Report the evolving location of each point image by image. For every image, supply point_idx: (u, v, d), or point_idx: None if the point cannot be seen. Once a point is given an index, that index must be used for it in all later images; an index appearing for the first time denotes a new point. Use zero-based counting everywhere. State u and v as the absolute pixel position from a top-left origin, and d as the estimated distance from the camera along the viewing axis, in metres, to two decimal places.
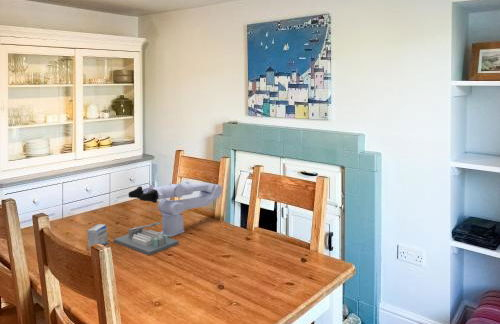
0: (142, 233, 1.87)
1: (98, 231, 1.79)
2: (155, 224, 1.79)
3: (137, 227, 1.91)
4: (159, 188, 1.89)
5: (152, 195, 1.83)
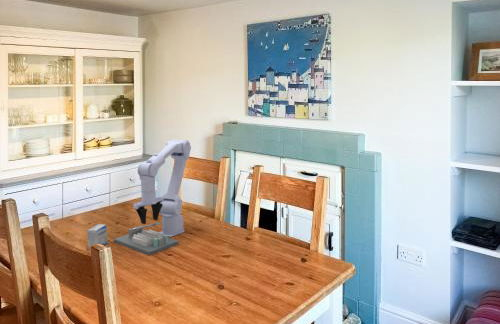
0: (142, 233, 1.87)
1: (98, 231, 1.79)
2: (155, 224, 1.79)
3: (137, 227, 1.91)
4: None
5: None
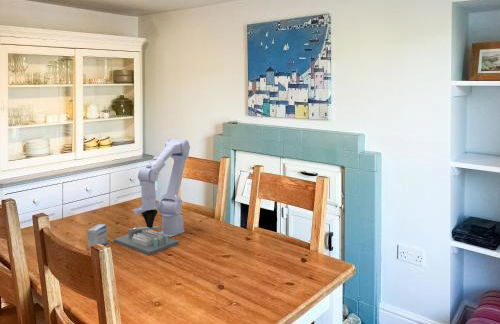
0: (142, 233, 1.87)
1: (98, 231, 1.79)
2: (156, 228, 1.79)
3: (137, 227, 1.91)
4: (155, 200, 1.81)
5: None
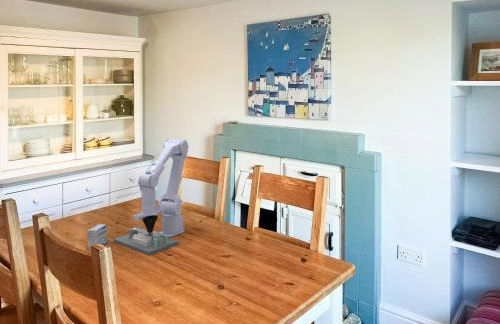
0: None
1: (98, 231, 1.79)
2: (157, 238, 1.79)
3: (137, 227, 1.91)
4: (155, 205, 1.82)
5: None
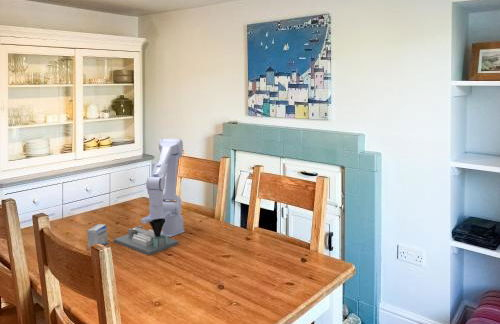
0: None
1: (98, 231, 1.79)
2: (157, 238, 1.79)
3: (137, 227, 1.91)
4: (163, 208, 1.79)
5: None
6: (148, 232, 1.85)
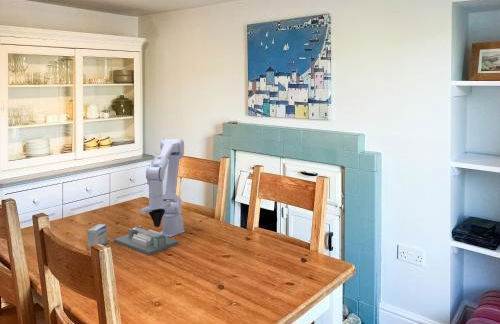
0: None
1: (98, 231, 1.79)
2: (157, 238, 1.79)
3: (137, 227, 1.91)
4: (162, 199, 1.78)
5: None
6: (148, 232, 1.85)
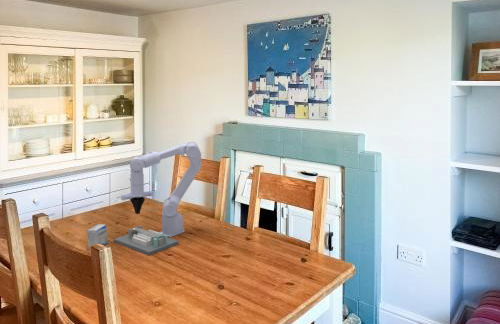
0: None
1: (98, 231, 1.79)
2: (157, 238, 1.79)
3: (137, 227, 1.91)
4: (142, 188, 1.92)
5: None
6: (148, 232, 1.85)
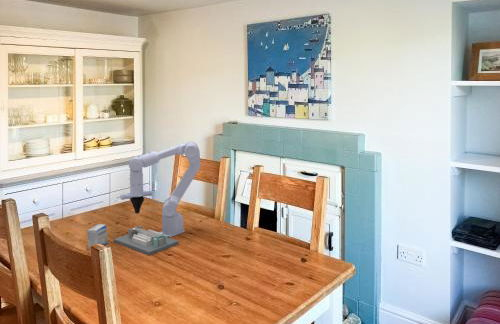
0: None
1: (98, 231, 1.79)
2: (157, 238, 1.79)
3: (137, 227, 1.91)
4: (142, 187, 1.93)
5: None
6: (148, 232, 1.85)
